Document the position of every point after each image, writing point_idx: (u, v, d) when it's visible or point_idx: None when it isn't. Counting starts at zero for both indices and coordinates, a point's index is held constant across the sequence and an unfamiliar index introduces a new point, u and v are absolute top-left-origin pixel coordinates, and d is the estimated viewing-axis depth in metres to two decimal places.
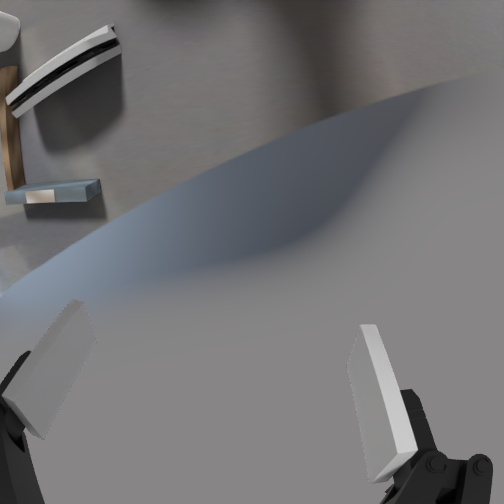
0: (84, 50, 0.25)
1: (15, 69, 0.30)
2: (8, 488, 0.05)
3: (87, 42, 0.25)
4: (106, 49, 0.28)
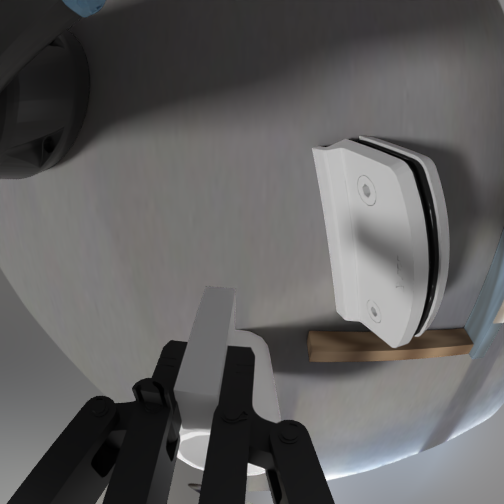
0: None
1: (315, 335, 0.30)
2: None
3: (394, 166, 0.16)
4: (383, 148, 0.19)
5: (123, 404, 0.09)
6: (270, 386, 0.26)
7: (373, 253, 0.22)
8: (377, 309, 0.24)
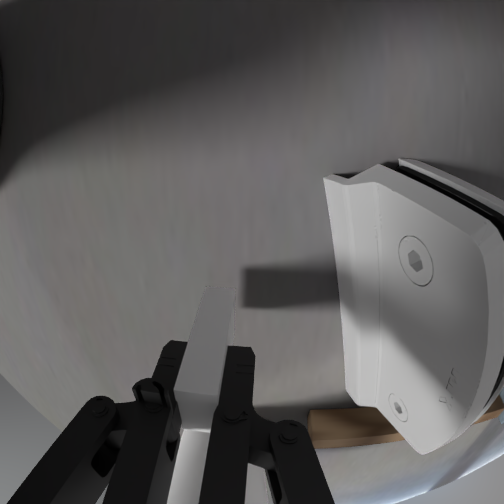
0: (500, 246, 0.08)
1: (318, 415, 0.22)
2: None
3: (479, 234, 0.08)
4: (443, 186, 0.11)
5: (123, 404, 0.09)
6: (258, 486, 0.17)
7: (410, 348, 0.13)
8: (404, 409, 0.15)
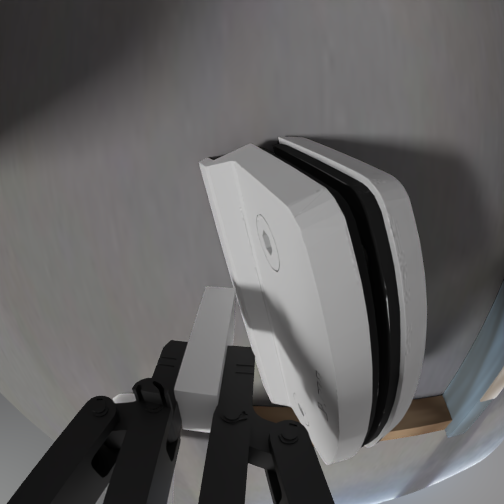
0: None
1: None
2: None
3: (301, 204, 0.08)
4: (307, 159, 0.11)
5: (123, 404, 0.09)
6: None
7: (289, 343, 0.13)
8: (304, 411, 0.15)
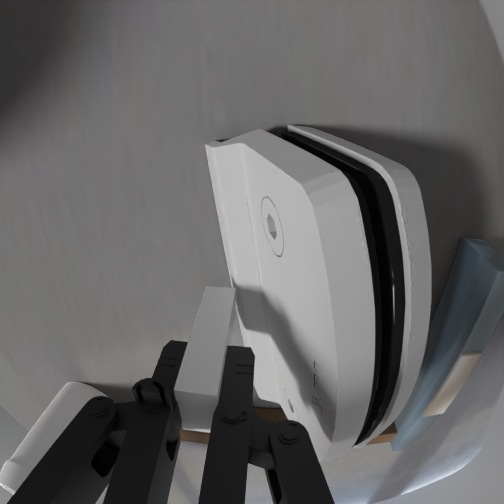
0: (351, 201, 0.07)
1: None
2: None
3: (314, 183, 0.07)
4: (318, 146, 0.11)
5: (123, 404, 0.09)
6: None
7: (285, 334, 0.13)
8: (294, 408, 0.15)
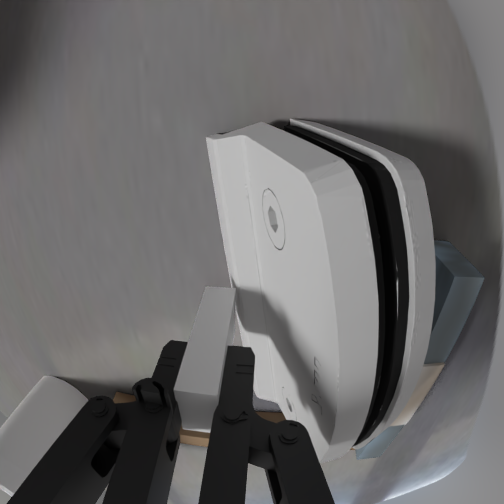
0: None
1: (120, 398, 0.22)
2: None
3: (317, 171, 0.07)
4: (320, 139, 0.10)
5: (123, 404, 0.09)
6: None
7: (284, 330, 0.13)
8: (292, 407, 0.14)
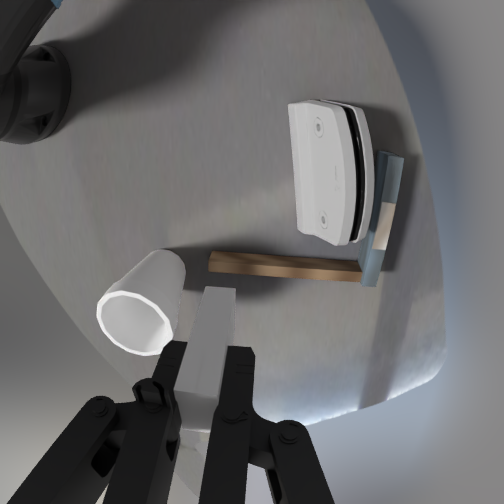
0: (343, 112, 0.27)
1: (216, 253, 0.42)
2: None
3: (333, 108, 0.27)
4: None
5: (123, 404, 0.09)
6: (172, 281, 0.37)
7: (322, 171, 0.32)
8: (325, 216, 0.34)
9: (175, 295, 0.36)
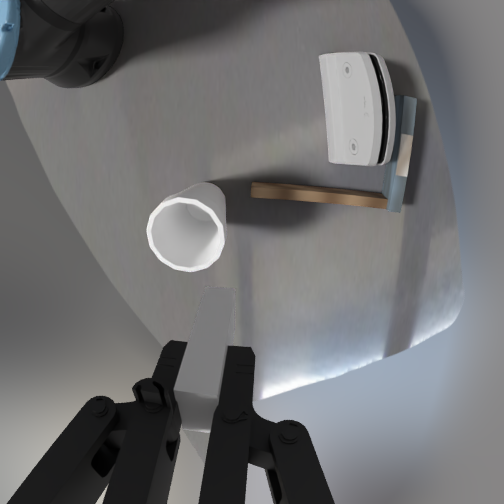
0: (368, 56, 0.30)
1: (256, 183, 0.45)
2: None
3: (360, 52, 0.30)
4: None
5: (123, 404, 0.09)
6: (219, 201, 0.40)
7: (351, 105, 0.35)
8: (355, 142, 0.37)
9: (223, 212, 0.39)
